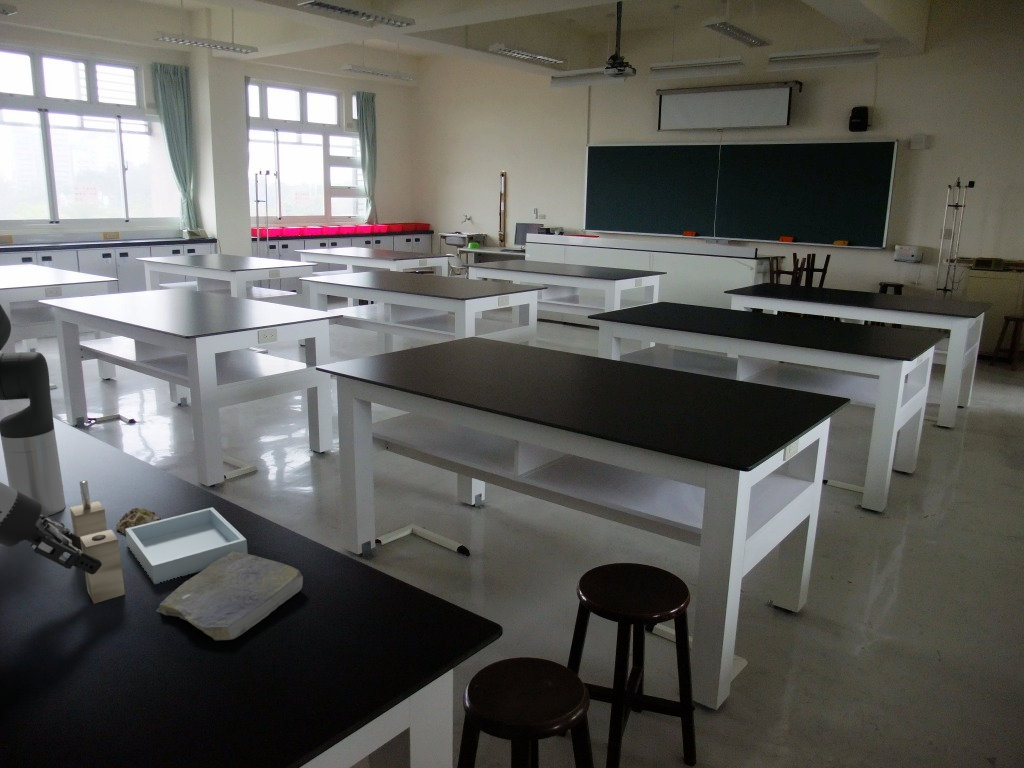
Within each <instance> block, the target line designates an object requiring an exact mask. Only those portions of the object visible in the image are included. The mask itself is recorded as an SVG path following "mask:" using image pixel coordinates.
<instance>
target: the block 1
mask: <svg viewBox="0 0 1024 768" xmlns="http://www.w3.org/2000/svg"><path fill="white" fill-rule="evenodd" d="M79 488H80V496H81V503H82V504H78V505H74V506H70V507H69V511H70V517H71V524H72V525H71V526H72V533H73V534H75V535H77V536H79V537H81V536H85V535H90V534H94V533H98V532H102V531H106V530H108V525H107V517H106V509H105V508H104V506H103V505H102V504H101V502H100V501H99V500H97V501H93V502H91V500H90V498H91V497H90V492H89V491H90V490H89V485H88V480H82V481H79Z"/></svg>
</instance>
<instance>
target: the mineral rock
mask: <svg viewBox="0 0 1024 768" xmlns="http://www.w3.org/2000/svg"><path fill="white" fill-rule="evenodd" d="M159 520H162V518H161V516H159V515H158V516H157V514H156V512H155V511H151V510H148V509H146V508H144V507H143V508H140V507H134V508H131V510H129V511H126V512H125V514H124V515H123V516H122V517H121V518H120V519H119V523H116V527H115V530H116V531H118V532H122V533H121V534H124V533H125V534H124V535H126V531H125V529H127V528H131V527H135V526H139V525H143V524H147V523H151V522H155V521H159Z"/></svg>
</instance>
